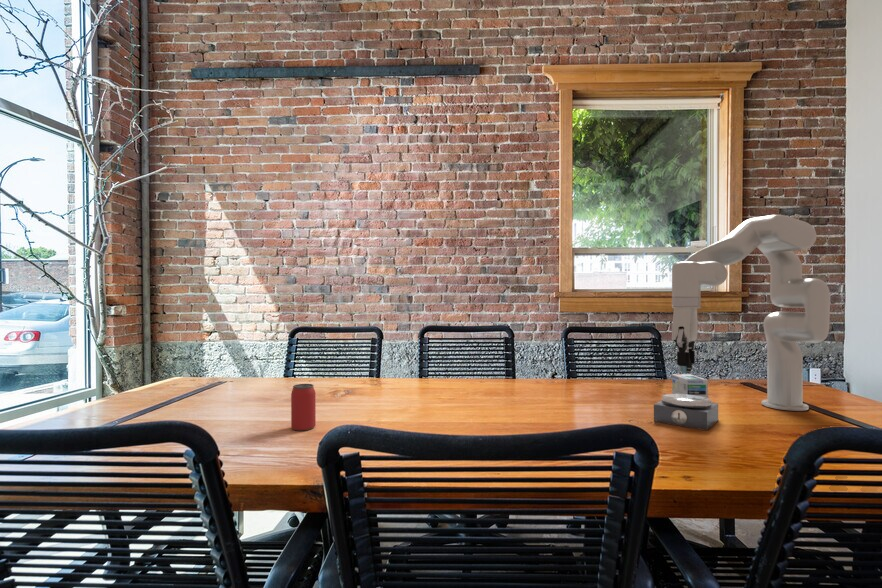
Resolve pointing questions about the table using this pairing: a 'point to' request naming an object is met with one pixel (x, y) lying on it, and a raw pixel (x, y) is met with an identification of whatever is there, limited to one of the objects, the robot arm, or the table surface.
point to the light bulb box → (689, 385)
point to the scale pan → (686, 400)
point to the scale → (686, 415)
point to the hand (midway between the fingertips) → (685, 364)
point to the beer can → (303, 407)
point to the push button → (688, 368)
